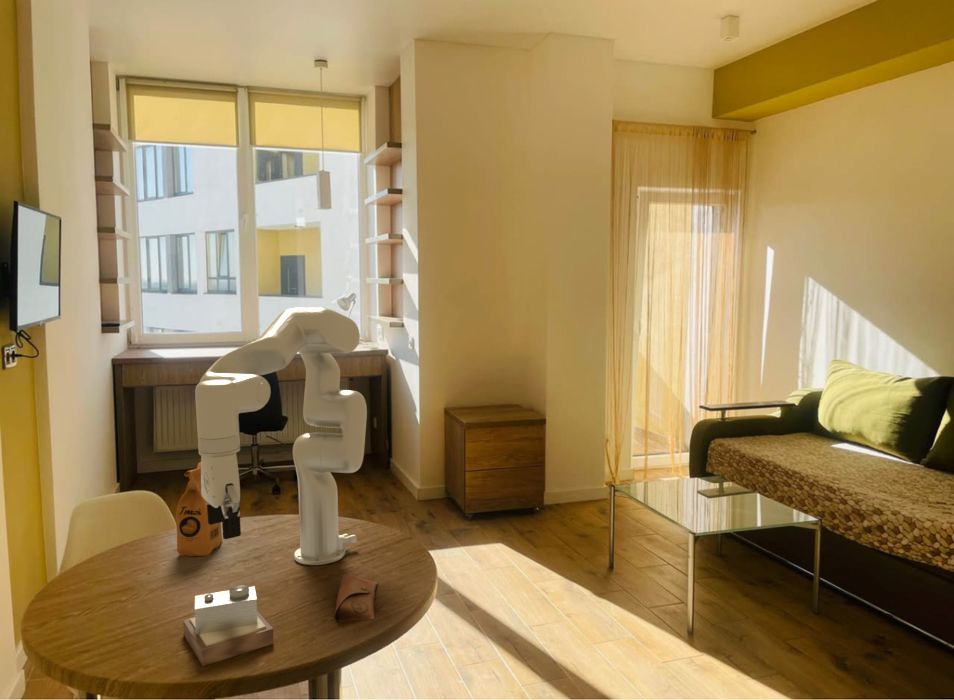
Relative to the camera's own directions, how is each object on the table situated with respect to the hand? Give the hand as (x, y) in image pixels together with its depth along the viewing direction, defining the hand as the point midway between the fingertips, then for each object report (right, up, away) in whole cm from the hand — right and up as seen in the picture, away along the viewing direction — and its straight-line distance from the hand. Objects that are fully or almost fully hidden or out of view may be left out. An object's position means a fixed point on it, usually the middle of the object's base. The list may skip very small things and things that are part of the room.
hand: (224, 529), depth 134 cm
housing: (+1, -18, -1) cm, 18 cm away
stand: (+1, -21, -1) cm, 21 cm away
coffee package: (-23, -17, +46) cm, 54 cm away
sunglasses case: (+23, -20, +15) cm, 34 cm away
